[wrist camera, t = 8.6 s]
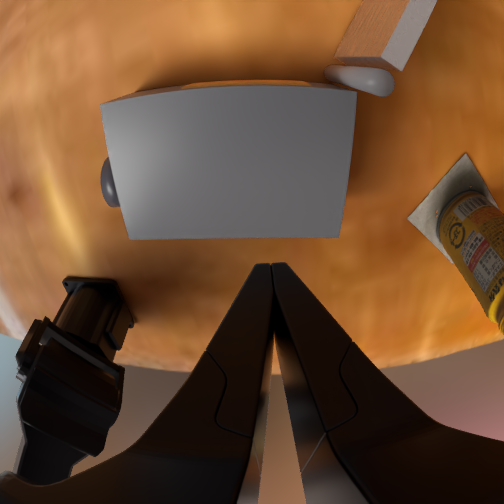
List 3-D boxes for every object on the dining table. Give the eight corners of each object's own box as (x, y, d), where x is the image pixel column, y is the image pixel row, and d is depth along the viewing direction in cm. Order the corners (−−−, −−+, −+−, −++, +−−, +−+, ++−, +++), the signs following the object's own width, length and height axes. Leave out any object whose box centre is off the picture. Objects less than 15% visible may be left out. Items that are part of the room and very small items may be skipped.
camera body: (136, 204, 19) (94, 269, 14) (115, 77, 14) (45, 96, 8) (331, 200, 19) (361, 269, 13) (342, 65, 14) (395, 72, 8)
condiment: (451, 262, 23) (509, 365, 13) (406, 217, 20) (484, 342, 10) (499, 210, 19) (574, 300, 9) (463, 151, 16) (574, 246, 7)
